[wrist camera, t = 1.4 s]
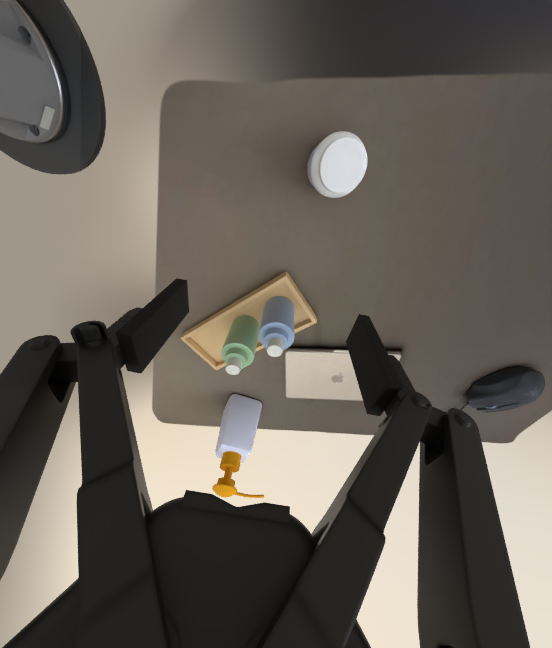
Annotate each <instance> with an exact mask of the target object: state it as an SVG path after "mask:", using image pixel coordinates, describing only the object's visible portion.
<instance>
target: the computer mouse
mask: <svg viewBox="0 0 552 648" xmlns="http://www.w3.org/2000/svg"><path fill="white" fill-rule="evenodd" d="M544 386H545V379H544V376H543V374H542V373H541V372H539V371H537V370H533V369H529V368H523V367H511V368H506V369H503V370H500V371H497V372H495V373H492V374H490V375H488V376H486V377H484V378H482V379H480V380H479V381H477V382H475V383H474V384H473V385H472V387H471V389H470V390H469V391H468V392H467V393H468V402H467V404H465V405H464V406H463V407H462V408H461V409H460V410H461V411H462V410H463V409H464V408H465V407H466V406H467V405H471V406H472V408H476V409H477V410H478V411H482V412H486V413H487V412H496V411H504V410H510V409H514V408H517V407H520V406H523V405H526V404H528V403H531V402H533V401H534V400H536V399H537V398H538V397H539V396H540V395H541V394H542V392H543V390H544Z"/></svg>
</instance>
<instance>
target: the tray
mask: <svg viewBox="0 0 552 648" xmlns="http://www.w3.org/2000/svg"><path fill="white" fill-rule="evenodd" d="M275 296H283V297H286V298H288V299H289V300H290V301H291V302H292V303H293V305H294V333H296V332H298V331H300V330H303V329H305V328H307V327H309V326H311V325H313V324H315V323H317V318H316V315H315V314H314V312H313V310H312V309H311V307H310V306H309V304H308V303H307V301H306V300H305V298H304V297H303V295H302V294H301V292H300V291H299V289H298V288H297V286H296V285H295V283H294V282H293V280H292V279H291V277H290V275H289V274H288V272H287V271H285V272H284V273H282V274H280V275H279V276H277V277H275V278H274V279H272V280H270V281H269V282H267V283H265V284H264V285H262V286H260V287H259V288H257V289H255V290H254V291H252V292H250V293H249V294H247V295H245V296H244V297H242V298H240V299H239V300H237V301H235V302H234V303H232V304H230V305H229V306H227V307H226V308H224V309H222V310H221V311H219V312H217V313H216V314H214V315H212V316H211V317H209V318H207V319H206V320H204V321H202V322H201V323H199V324H197V325H196V326H194V327H192V328H191V329H189V330H187V331H186V332H184V334H183V335H182V337H181V339H182V340H183V341H184V342H185V343H186V344H187V345H188V346H189V347H191V348H192V349H193V350H194V351H195V352H196V353H197V354H198V355H199V356H201V357H202V358H203V359H204V360H205V361H206V362H207V363H208V364H209V365H211V366H212V367H213V368H214V369H215V370H217V369H220V368H222V367H224V366H226V364H225V362H224V360H223V358H222V356H221V350H222V347H223V345H224V343H225V340H226V338H227V335H228V333H229V330H230V328H231V325H232V323H233V321H234V319H235V318H237V317H238V316H241V315H248V316H251V317H253V318H255V319H256V320H257V321H258V323H259V325H261V320H262V316H263V311H264V307H265V304H266V302H267V301H268V300H269V299H270V298H272V297H275ZM264 347H265V346H263V345H262V344H261V342H260V340H259V337H258V341H257V346H256V350H255V352H256V351H258V350H260V349H262V348H264Z"/></svg>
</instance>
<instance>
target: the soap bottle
mask: <svg viewBox="0 0 552 648" xmlns="http://www.w3.org/2000/svg"><path fill="white" fill-rule="evenodd" d="M261 408H262V404H261V402H260V401H258V400H254V399H251V398H248V397H244V396H241V395H238V394H233V395H231V396H230V398H229V400H228V402H227V404H226V406H225V409H224V412H223V417H222V422H221V427H220V432H219V437H218V442H217V447H216V456H217V457H219V458H222V461H221V464H220V468H221V469H222V470H224V471H225V475H224V478H219V479H218V483H217V484H215V485H214V486H213V490H214V491H215V493H216V494H217V495H219V496H221V497H229V496H232V495H234V494H235V495H239V496H244V497H251V498H263V497H264V495H248V494H243V493H238V492H237V489H236V488H235V487H234V485H235V481H234V480H232V479H231V475H232V472H237V471H239V467H240V463H241V462H244V460H245V459H246V457H247V456H248V455H249V453H250V452H251V450H252V446H253V442H254V438H255V434H256V429H257V425H258V421H259V417H260V413H261Z"/></svg>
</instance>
